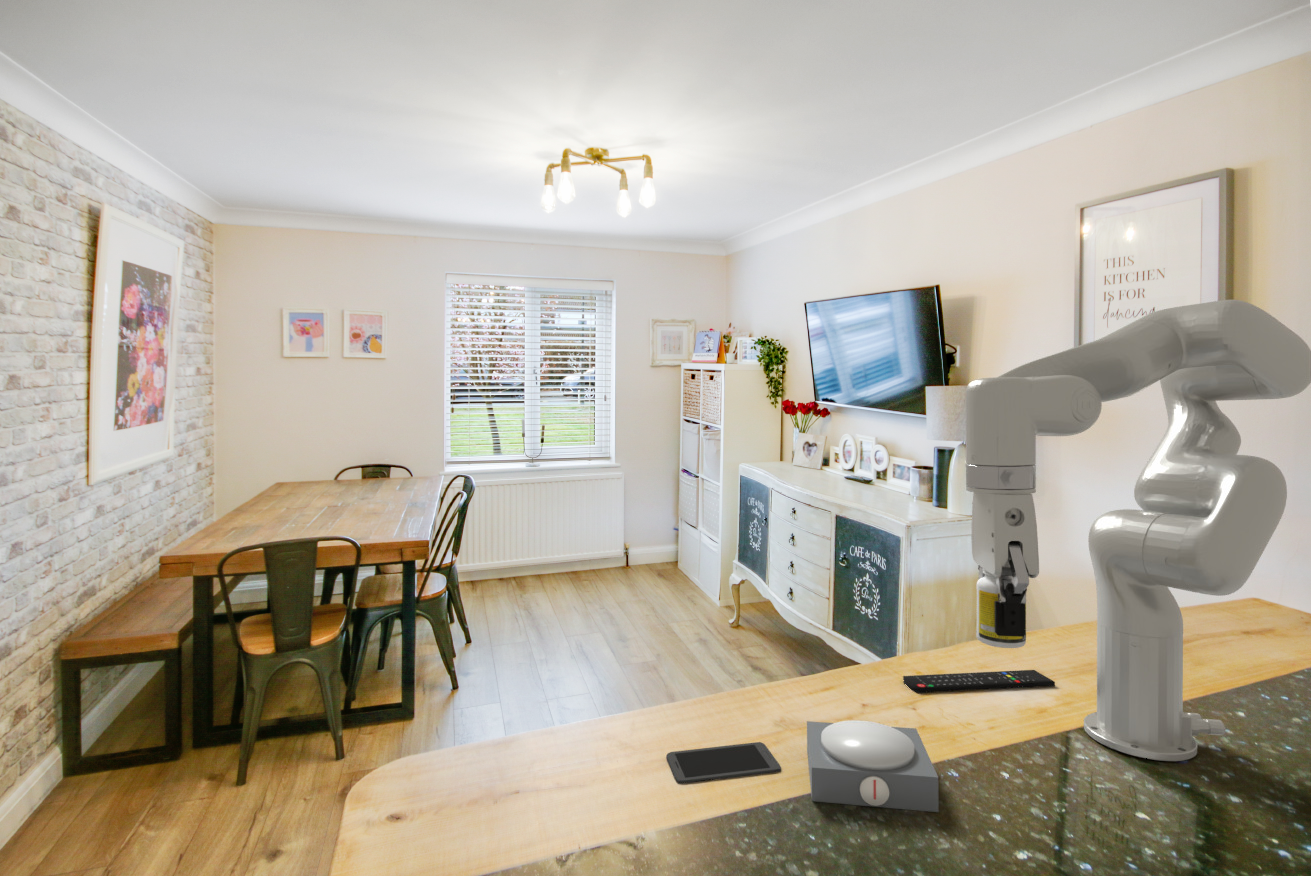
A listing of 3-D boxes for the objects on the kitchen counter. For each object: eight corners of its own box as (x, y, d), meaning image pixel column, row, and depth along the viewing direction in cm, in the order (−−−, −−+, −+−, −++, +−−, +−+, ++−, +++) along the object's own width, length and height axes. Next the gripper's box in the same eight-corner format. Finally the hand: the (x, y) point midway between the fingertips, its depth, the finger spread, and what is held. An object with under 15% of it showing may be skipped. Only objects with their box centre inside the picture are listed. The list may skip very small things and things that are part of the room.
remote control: (1054, 689, 109) (1054, 681, 109) (914, 696, 107) (914, 688, 107) (1033, 677, 114) (1033, 669, 114) (900, 683, 112) (900, 675, 112)
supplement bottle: (1033, 650, 77) (1032, 567, 77) (983, 648, 78) (982, 566, 78) (1017, 635, 83) (1017, 558, 82) (971, 633, 84) (970, 557, 83)
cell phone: (783, 774, 84) (783, 768, 84) (676, 787, 81) (676, 781, 81) (763, 746, 91) (763, 740, 91) (664, 757, 88) (664, 752, 88)
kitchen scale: (916, 758, 86) (916, 722, 86) (939, 815, 74) (939, 773, 74) (807, 750, 89) (806, 715, 89) (812, 803, 76) (811, 763, 76)
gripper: (1064, 486, 71) (1065, 653, 71) (1008, 473, 88) (1009, 607, 88) (989, 486, 72) (990, 650, 73) (949, 473, 89) (950, 606, 89)
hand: (1001, 625), depth 80 cm, fingers closed on supplement bottle, 5 cm apart
